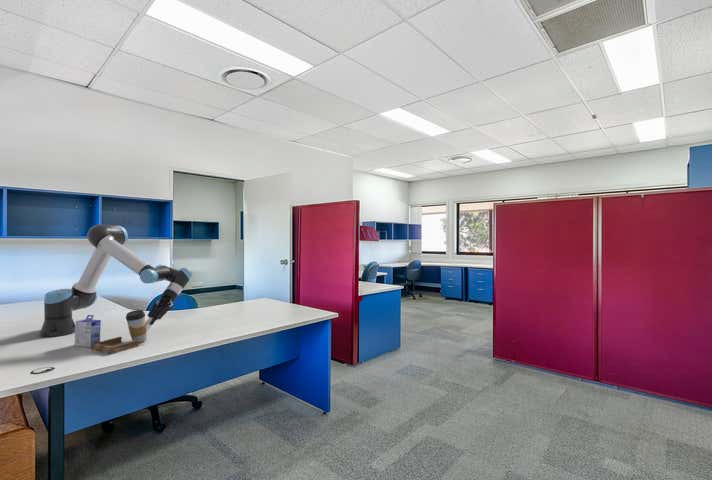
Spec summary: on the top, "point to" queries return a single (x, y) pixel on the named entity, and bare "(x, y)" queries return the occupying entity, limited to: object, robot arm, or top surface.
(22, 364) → the top surface
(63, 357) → the top surface
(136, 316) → the coffee cup
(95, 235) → the robot arm
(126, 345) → the walnut bay
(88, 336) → the ink cartridge box
